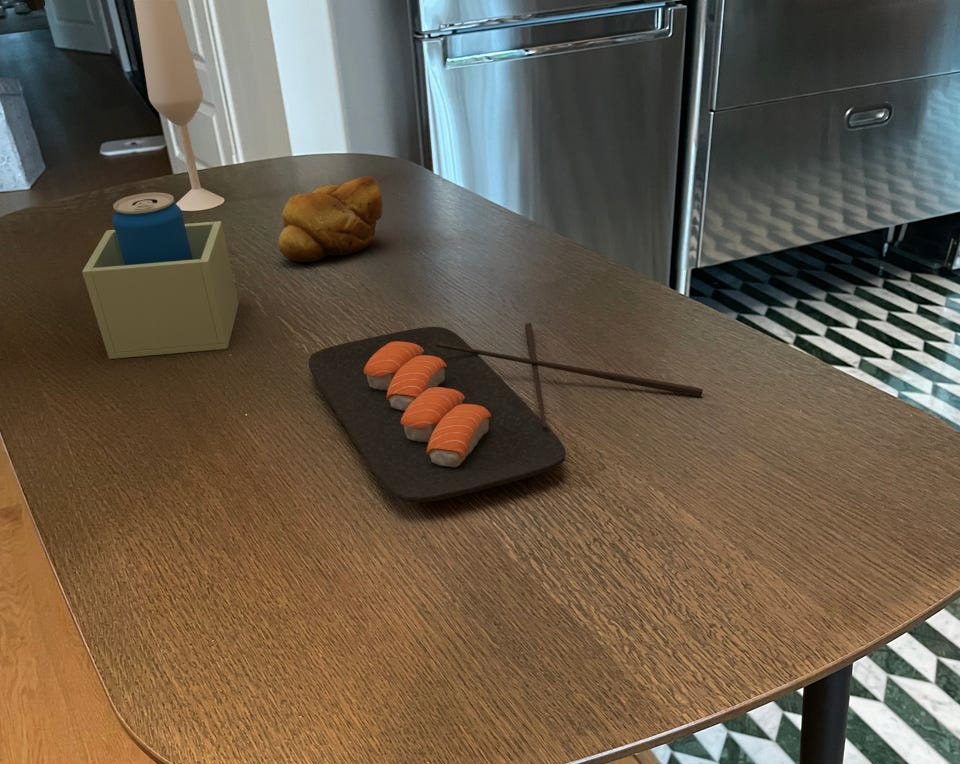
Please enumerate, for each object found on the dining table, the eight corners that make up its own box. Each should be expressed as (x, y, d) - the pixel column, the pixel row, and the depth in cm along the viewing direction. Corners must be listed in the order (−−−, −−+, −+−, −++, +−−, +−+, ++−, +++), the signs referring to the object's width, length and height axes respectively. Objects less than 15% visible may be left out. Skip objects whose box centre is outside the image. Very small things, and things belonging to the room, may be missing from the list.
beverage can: (208, 308, 105) (180, 188, 97) (205, 333, 100) (176, 208, 92) (145, 315, 104) (112, 195, 97) (139, 341, 99) (104, 215, 92)
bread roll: (298, 275, 113) (286, 201, 107) (261, 253, 119) (247, 182, 114) (396, 247, 118) (388, 175, 113) (355, 227, 124) (346, 158, 119)
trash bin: (109, 359, 98) (81, 271, 92) (129, 312, 107) (106, 230, 101) (227, 349, 98) (208, 261, 93) (239, 303, 107) (221, 220, 102)
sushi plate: (302, 371, 94) (295, 332, 91) (590, 309, 101) (591, 271, 99) (400, 529, 73) (394, 483, 70) (754, 435, 80) (760, 391, 78)
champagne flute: (234, 200, 135) (192, -9, 120) (192, 214, 132) (144, -1, 116) (206, 192, 139) (161, -13, 123) (164, 205, 135) (113, -4, 120)
